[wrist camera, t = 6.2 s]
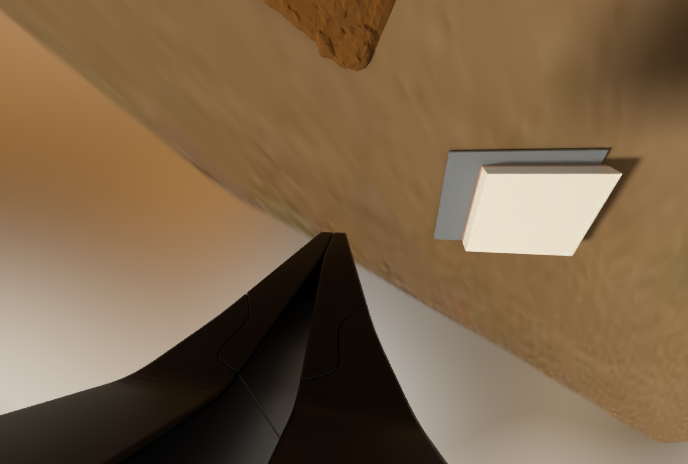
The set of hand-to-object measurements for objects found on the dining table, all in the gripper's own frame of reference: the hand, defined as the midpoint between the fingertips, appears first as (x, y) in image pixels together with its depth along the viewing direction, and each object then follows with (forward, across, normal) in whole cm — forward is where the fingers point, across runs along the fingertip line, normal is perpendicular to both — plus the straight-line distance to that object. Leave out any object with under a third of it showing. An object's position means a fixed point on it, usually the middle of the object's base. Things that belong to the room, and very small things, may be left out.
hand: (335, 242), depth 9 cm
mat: (+13, -11, +6) cm, 18 cm away
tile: (+12, -8, +6) cm, 16 cm away
